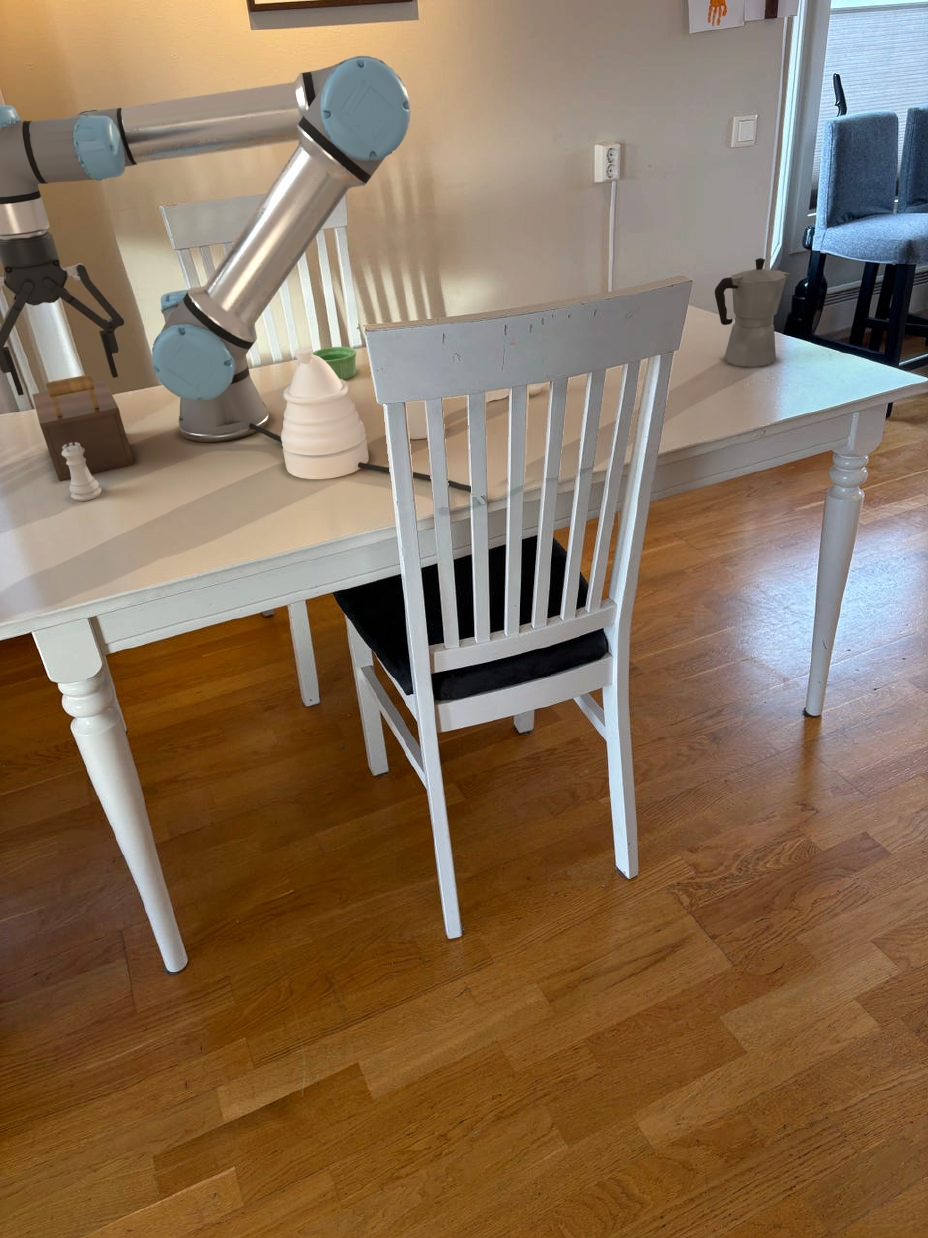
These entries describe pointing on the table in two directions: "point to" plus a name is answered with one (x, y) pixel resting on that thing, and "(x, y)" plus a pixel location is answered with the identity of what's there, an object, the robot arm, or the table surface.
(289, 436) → the honey pot
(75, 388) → the box lid
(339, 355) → the ramekin
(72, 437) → the box
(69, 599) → the table surface
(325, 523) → the table surface
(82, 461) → the rook chess piece
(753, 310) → the coffeepot
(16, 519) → the table surface
